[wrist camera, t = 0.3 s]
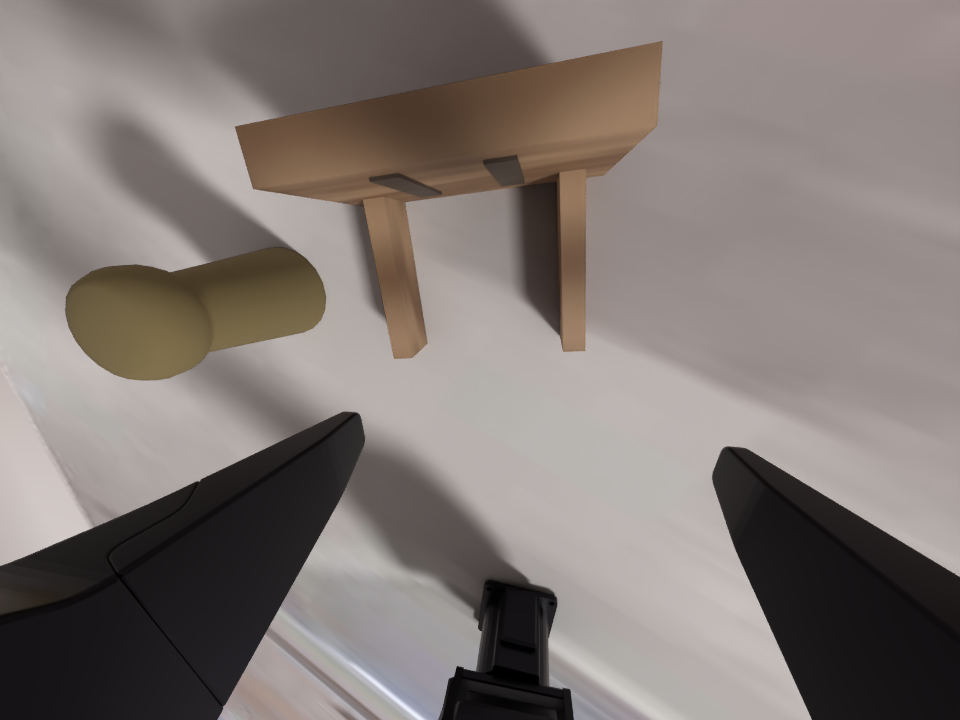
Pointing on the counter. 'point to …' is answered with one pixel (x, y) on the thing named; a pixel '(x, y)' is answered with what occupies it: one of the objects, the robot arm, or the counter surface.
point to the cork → (191, 310)
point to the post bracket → (466, 160)
